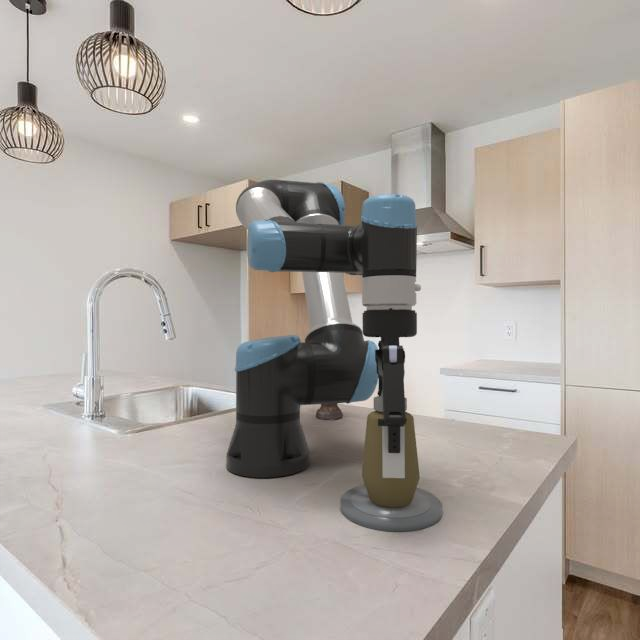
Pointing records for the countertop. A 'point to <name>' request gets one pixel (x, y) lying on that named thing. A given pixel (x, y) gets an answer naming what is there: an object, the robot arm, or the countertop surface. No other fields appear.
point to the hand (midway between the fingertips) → (390, 460)
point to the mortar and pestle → (329, 412)
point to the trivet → (391, 511)
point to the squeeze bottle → (380, 488)
